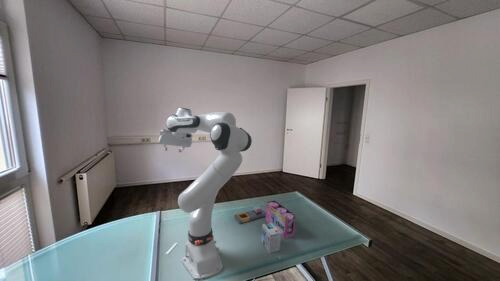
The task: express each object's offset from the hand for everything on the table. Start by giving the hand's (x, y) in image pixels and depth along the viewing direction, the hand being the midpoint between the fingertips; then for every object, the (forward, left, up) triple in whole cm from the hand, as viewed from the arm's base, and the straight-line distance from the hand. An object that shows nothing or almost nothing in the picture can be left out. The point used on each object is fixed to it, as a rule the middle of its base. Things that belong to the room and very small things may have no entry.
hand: (172, 151), depth 127 cm
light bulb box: (-53, -43, -48) cm, 84 cm away
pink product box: (-41, -59, -49) cm, 86 cm away
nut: (-22, -54, -48) cm, 75 cm away
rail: (-22, -48, -48) cm, 71 cm away
